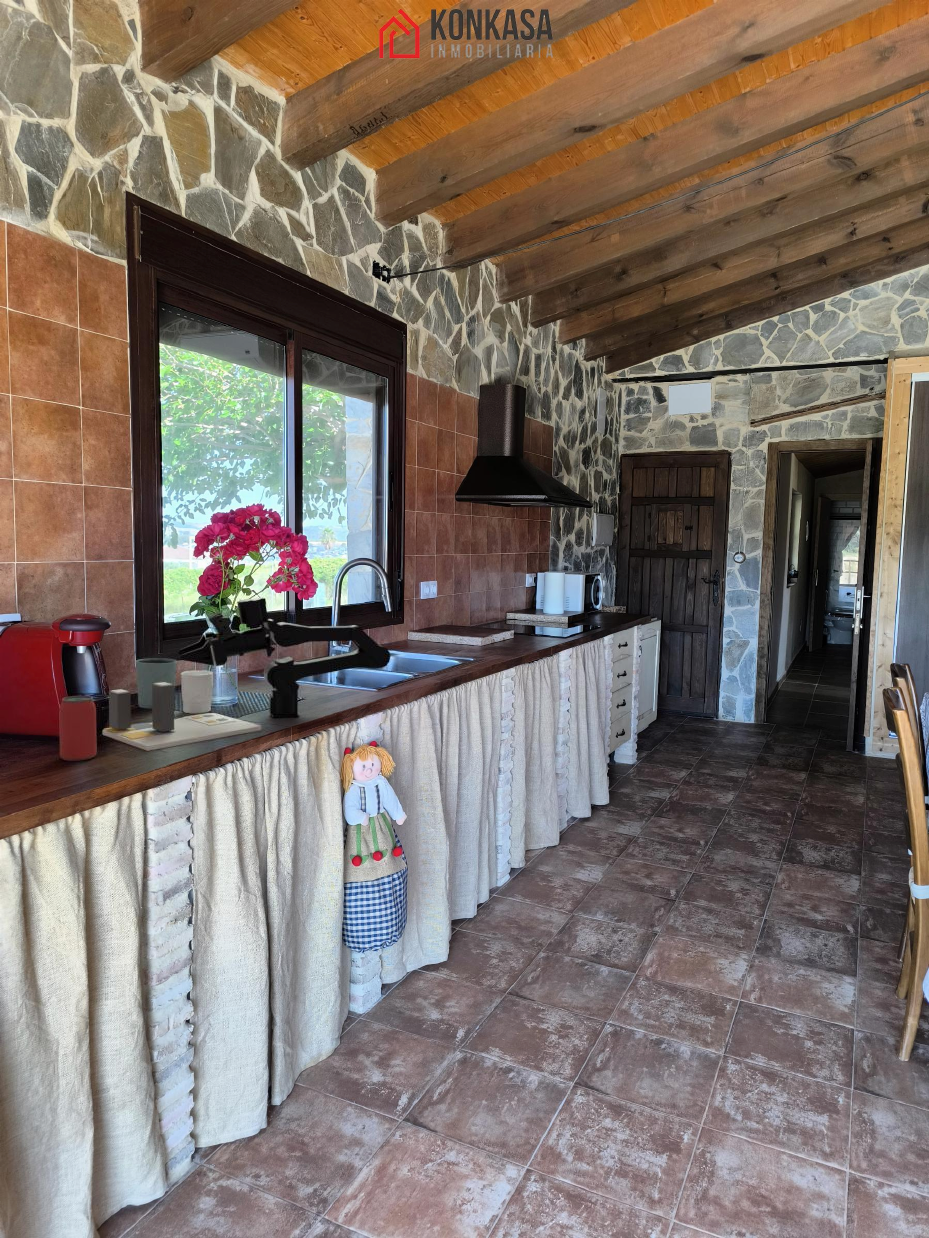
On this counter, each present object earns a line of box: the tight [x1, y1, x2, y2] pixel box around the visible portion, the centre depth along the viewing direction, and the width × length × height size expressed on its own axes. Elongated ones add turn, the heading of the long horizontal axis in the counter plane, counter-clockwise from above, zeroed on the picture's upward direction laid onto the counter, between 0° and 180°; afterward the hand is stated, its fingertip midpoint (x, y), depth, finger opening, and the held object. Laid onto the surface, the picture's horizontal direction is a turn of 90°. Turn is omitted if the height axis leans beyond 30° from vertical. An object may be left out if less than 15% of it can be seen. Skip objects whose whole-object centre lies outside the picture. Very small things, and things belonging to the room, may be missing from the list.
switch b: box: [108, 688, 132, 730], centre depth 181 cm, size 3×4×8 cm
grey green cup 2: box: [135, 657, 178, 709], centre depth 214 cm, size 10×10×12 cm
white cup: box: [180, 669, 214, 715], centre depth 208 cm, size 8×8×10 cm
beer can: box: [58, 695, 98, 762], centre depth 161 cm, size 7×7×12 cm
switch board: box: [102, 712, 262, 752], centre depth 185 cm, size 28×21×1 cm
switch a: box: [151, 682, 175, 732], centre depth 181 cm, size 3×4×10 cm
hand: (179, 655), depth 195 cm, fingers open, 9 cm apart
